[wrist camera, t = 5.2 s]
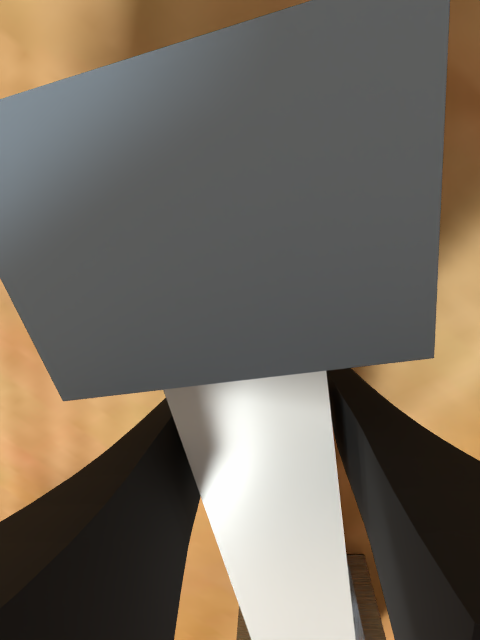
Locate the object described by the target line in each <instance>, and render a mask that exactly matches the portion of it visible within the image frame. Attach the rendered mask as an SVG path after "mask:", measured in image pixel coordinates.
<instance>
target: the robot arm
mask: <svg viewBox="0 0 480 640" xmlns="http://www.w3.org/2000/svg"><path fill="white" fill-rule="evenodd" d="M326 373H327V383H328V392H329V401H330V410H331V419H332V426H333V430H334V434H335V439H336V443H337V447H338V450H339V453H340V456H341V459H342V462H343V465H344V468H345V471H346V474H347V476H348V479H349V482H350V485H351V488H352V491H353V494H354V496H355V499H356V502H357V505H358V508H359V511H360V514H361V516H362V519H363V522H364V525H365V528H366V532H367V535H368V538H369V541H370V545H371V549H372V552H373V556H374V560H375V564H376V568H377V572H378V575H379V579H380V583H381V587H382V591H383V595H384V599H385V603H386V607H387V611H388V614H389V618H390V622H391V626H392V630H393V634H394V638H395V640H480V461H479V460H477V459H475V458H473V457H472V456H470V455H468V454H466V453H465V452H463V451H461V450H459V449H458V448H456V447H454V446H453V445H451V444H450V443H448V442H446V441H445V440H443V439H441V438H440V437H438V436H437V435H435V434H433V433H432V432H430V431H429V430H427V429H426V428H424V427H423V426H421V425H420V424H418V423H417V422H416V421H414V420H413V419H411V418H410V417H409V416H407V415H406V414H405V413H403V412H402V411H401V410H399V409H398V408H397V407H395V406H394V405H393V404H392V403H390V402H389V401H388V400H387V399H385V398H384V397H383V396H382V395H380V394H379V393H378V392H377V391H376V390H374V389H373V388H372V387H371V386H370V385H369V384H368V383H366V382H365V381H364V380H363V379H362V378H361V377H360V376H359V375H358V374H357V373H355V372H354V371H353V370H352V369H351V368H344V369H336V370H327V371H326ZM200 496H201V495H200V493H199V490H198V487H197V484H196V481H195V478H194V475H193V473H192V470H191V467H190V464H189V461H188V458H187V456H186V453H185V450H184V447H183V444H182V441H181V439H180V436H179V433H178V430H177V427H176V424H175V422H174V419H173V416H172V413H171V410H170V407H169V405H168V402H167V399H166V398H165V399H164V400H163V401H162V402H161V403H160V404H159V405H158V406H157V407H155V408H154V409H153V410H152V411H151V412H150V413H149V414H148V415H147V416H146V417H145V418H144V419H143V420H141V421H140V422H139V423H138V424H137V425H136V426H135V427H134V428H132V429H131V430H130V431H129V432H128V433H127V434H125V435H124V436H123V437H122V438H121V439H120V440H118V441H117V442H116V443H115V444H114V445H113V446H111V447H110V448H109V449H108V450H107V451H105V452H104V453H103V454H101V455H100V456H99V457H98V458H96V459H95V460H94V461H92V462H91V463H90V464H88V465H87V466H86V467H84V468H83V469H82V470H80V471H79V472H77V473H76V474H75V475H73V476H72V477H70V478H69V479H67V480H66V481H64V482H63V483H61V484H60V485H58V486H57V487H55V488H54V489H52V490H51V491H49V492H48V493H46V494H45V495H43V496H42V497H40V498H39V499H37V500H36V501H34V502H32V503H31V504H29V505H28V506H26V507H24V508H23V509H21V510H19V511H18V512H16V513H14V514H13V515H11V516H9V517H8V518H6V519H4V520H3V521H1V522H0V640H174V635H175V628H176V621H177V615H178V608H179V601H180V594H181V587H182V581H183V575H184V569H185V563H186V557H187V551H188V545H189V541H190V536H191V532H192V527H193V524H194V520H195V516H196V512H197V508H198V504H199V500H200Z"/></svg>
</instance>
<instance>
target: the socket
mask: <svg viewBox="0 0 480 640" xmlns="http://www.w3.org/2000/svg"><path fill="white" fill-rule="evenodd" d="M449 12H450V0H311V1H308V2H305V3H302V4H299V5H296V6H292V7H289V8H286V9H283V10H280V11H277V12H274V13H270V14H267V15H264V16H261V17H258V18H255V19H252V20H248V21H245V22H242V23H239V24H236V25H233V26H229V27H226V28H223V29H220V30H217V31H214V32H211V33H207V34H204V35H201V36H198V37H195V38H192V39H189V40H185V41H182V42H179V43H176V44H173V45H170V46H166V47H163V48H160V49H157V50H154V51H151V52H148V53H144V54H141V55H138V56H135V57H132V58H129V59H126V60H122V61H119V62H116V63H113V64H110V65H107V66H103V67H100V68H97V69H94V70H91V71H88V72H85V73H81V74H78V75H75V76H72V77H69V78H66V79H63V80H59V81H56V82H53V83H50V84H47V85H44V86H41V87H37V88H34V89H31V90H28V91H25V92H22V93H18V94H15V95H12V96H9V97H6V98H3V99H0V278H1V280H2V282H3V284H4V286H5V288H6V290H7V292H8V294H9V296H10V298H11V300H12V302H13V304H14V306H15V308H16V310H17V312H18V314H19V316H20V318H21V320H22V322H23V324H24V326H25V328H26V329H27V331H28V333H29V335H30V337H31V339H32V341H33V343H34V345H35V347H36V349H37V351H38V353H39V355H40V357H41V359H42V361H43V363H44V365H45V367H46V369H47V371H48V373H49V375H50V377H51V379H52V381H53V383H54V385H55V386H56V388H57V390H58V392H59V394H60V396H61V398H62V400H63V401H70V400H78V399H87V398H95V397H104V396H113V395H121V394H130V393H138V392H147V391H155V390H164V389H173V388H181V387H190V386H198V385H207V384H216V383H224V382H233V381H241V380H250V379H258V378H267V377H276V376H284V375H293V374H301V373H310V372H319V371H327V370H336V369H344V368H353V367H361V366H370V365H379V364H387V363H396V362H404V361H413V360H422V359H430V358H434V347H435V324H436V302H437V280H438V257H439V235H440V213H441V190H442V168H443V146H444V123H445V101H446V79H447V56H448V34H449Z"/></svg>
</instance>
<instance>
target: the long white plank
mask: <svg viewBox="0 0 480 640" xmlns="http://www.w3.org/2000/svg"><path fill="white" fill-rule="evenodd" d="M164 393H165V396H166V399H167V402H168V405H169V407H170V410H171V413H172V416H173V419H174V422H175V424H176V427H177V430H178V433H179V436H180V439H181V441H182V444H183V447H184V450H185V453H186V456H187V458H188V461H189V464H190V467H191V470H192V473H193V475H194V478H195V481H196V484H197V487H198V490H199V493H200V495H201V498H202V501H203V504H204V507H205V510H206V512H207V515H208V518H209V521H210V524H211V527H212V529H213V532H214V535H215V538H216V541H217V544H218V546H219V549H220V552H221V555H222V558H223V561H224V563H225V566H226V569H227V572H228V575H229V578H230V580H231V583H232V586H233V589H234V592H235V595H236V597H237V600H238V603H239V606H240V609H241V612H242V615H243V617H244V620H245V623H246V626H247V629H248V632H249V634H250V637H251V640H356V639H355V630H354V621H353V612H352V603H351V594H350V584H349V575H348V566H347V557H346V548H345V538H344V529H343V520H342V511H341V502H340V493H339V483H338V474H337V465H336V456H335V447H334V438H333V428H332V419H331V410H330V401H329V392H328V383H327V373H326V371H319V372H310V373H301V374H293V375H284V376H276V377H267V378H258V379H250V380H241V381H233V382H224V383H216V384H207V385H198V386H190V387H181V388H173V389H164Z"/></svg>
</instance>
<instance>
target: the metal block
mask: <svg viewBox="0 0 480 640" xmlns="http://www.w3.org/2000/svg"><path fill="white" fill-rule="evenodd" d="M346 557H347V566H348V575H349V584H350V594H351V603H352V612H353V621H354V630H355V639H356V640H386V637H385V633H384V629H383V625H382V622H381V618H380V614H379V610H378V606H377V602H376V598H375V595H374V591H373V587H372V583H371V579H370V575H369V571H368V568H367V564H366V560H365V556H364V555H346ZM237 640H251V637H250V634H249V632H248V629H247V626H246V623H245V620H244V617H243V615H242V612H241V609H240V606H239V615H238V628H237Z"/></svg>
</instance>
